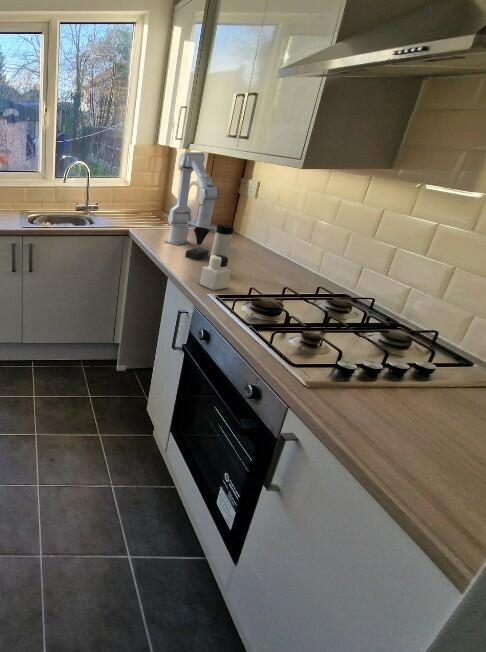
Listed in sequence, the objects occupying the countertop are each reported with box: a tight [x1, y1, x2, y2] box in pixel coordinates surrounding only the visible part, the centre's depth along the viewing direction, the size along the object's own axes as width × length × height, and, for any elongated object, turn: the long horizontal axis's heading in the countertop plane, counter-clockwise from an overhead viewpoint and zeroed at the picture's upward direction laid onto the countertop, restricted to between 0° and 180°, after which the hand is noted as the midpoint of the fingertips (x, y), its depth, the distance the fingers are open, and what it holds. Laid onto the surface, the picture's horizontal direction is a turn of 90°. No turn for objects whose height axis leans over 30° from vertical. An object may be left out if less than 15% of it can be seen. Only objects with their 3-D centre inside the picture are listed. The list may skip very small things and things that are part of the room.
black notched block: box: [185, 248, 205, 261], centre depth 190 cm, size 6×6×3 cm
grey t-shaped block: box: [195, 246, 210, 258], centre depth 192 cm, size 6×5×3 cm
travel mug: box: [209, 224, 235, 259], centre depth 169 cm, size 6×7×20 cm
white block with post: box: [199, 255, 232, 291], centre depth 156 cm, size 7×7×12 cm
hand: (199, 244), depth 189 cm, fingers closed
